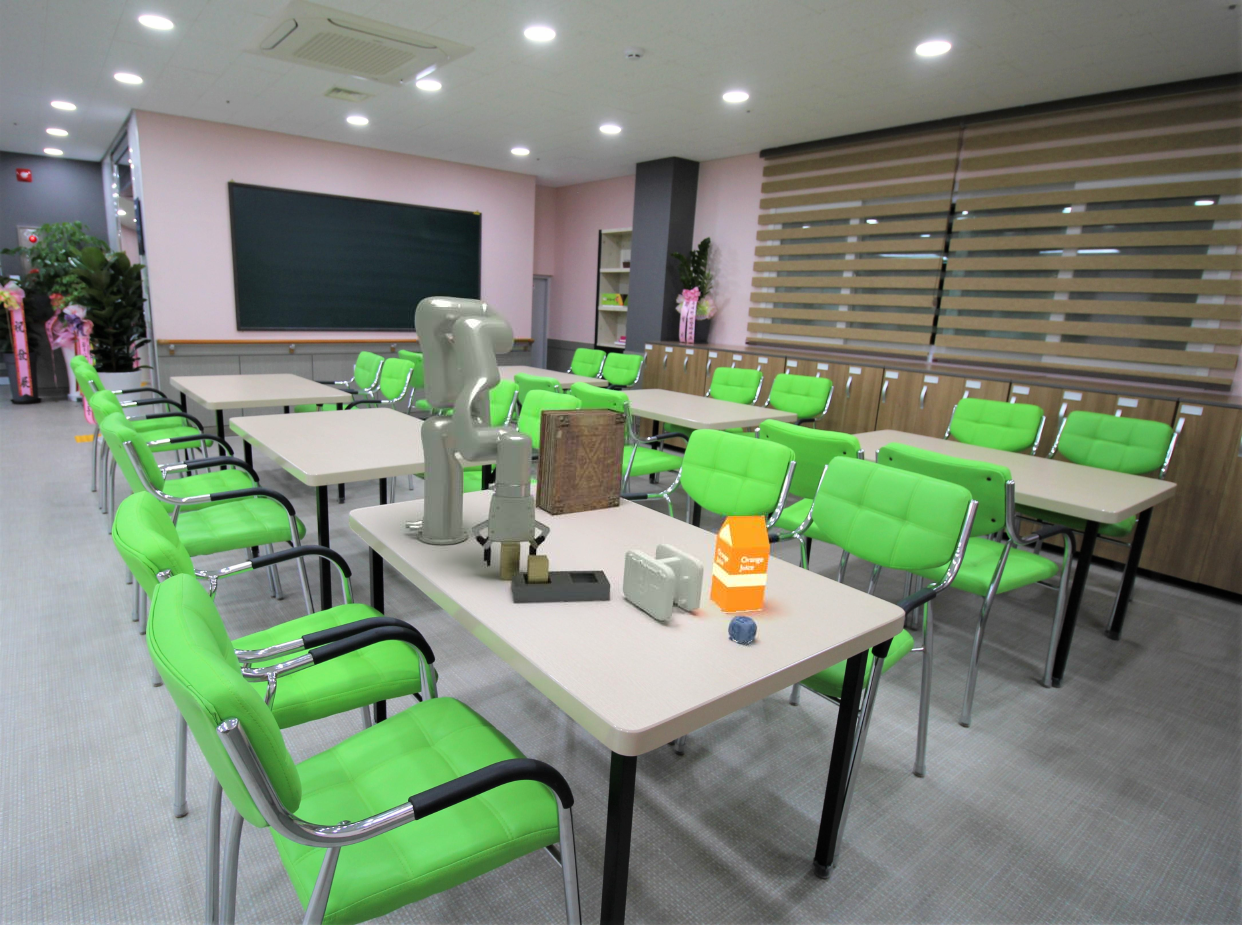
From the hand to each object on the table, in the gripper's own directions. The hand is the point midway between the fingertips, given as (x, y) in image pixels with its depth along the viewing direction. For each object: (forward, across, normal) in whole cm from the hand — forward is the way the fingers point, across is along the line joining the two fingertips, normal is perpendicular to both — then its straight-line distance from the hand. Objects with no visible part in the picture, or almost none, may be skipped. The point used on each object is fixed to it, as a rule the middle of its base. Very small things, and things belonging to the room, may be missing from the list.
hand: (509, 563), depth 150 cm
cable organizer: (+3, +30, -18) cm, 35 cm away
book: (+3, +25, +55) cm, 61 cm away
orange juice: (+3, +47, -18) cm, 50 cm away
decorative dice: (+3, +42, -33) cm, 54 cm away
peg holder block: (+3, +10, -10) cm, 14 cm away
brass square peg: (+3, 0, 0) cm, 3 cm away
